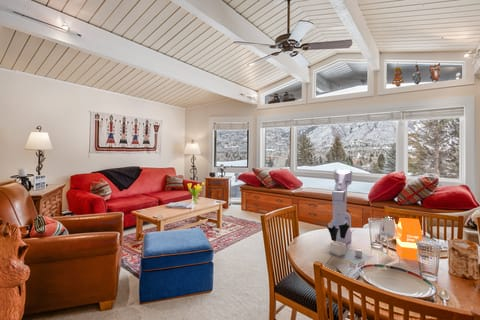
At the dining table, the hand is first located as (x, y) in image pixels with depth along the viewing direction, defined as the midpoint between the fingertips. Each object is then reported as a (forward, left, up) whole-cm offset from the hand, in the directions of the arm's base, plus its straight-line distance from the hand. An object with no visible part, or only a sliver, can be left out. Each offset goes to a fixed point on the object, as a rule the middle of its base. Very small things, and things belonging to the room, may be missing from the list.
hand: (338, 239), depth 125 cm
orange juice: (-30, +20, -9) cm, 37 cm away
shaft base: (-3, +4, -8) cm, 10 cm away
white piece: (0, 0, -7) cm, 7 cm away
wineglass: (-21, +14, -9) cm, 27 cm away
